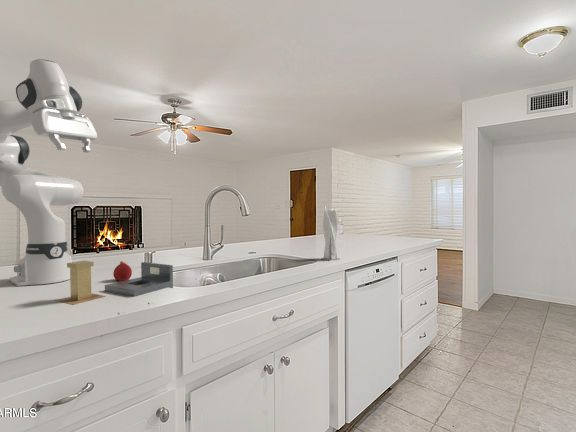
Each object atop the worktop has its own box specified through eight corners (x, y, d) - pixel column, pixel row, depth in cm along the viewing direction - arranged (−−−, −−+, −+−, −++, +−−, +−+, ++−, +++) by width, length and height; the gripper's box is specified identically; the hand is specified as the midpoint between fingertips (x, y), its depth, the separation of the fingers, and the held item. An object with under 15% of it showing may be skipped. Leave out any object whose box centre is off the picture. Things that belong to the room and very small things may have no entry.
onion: (127, 280, 115) (127, 259, 115) (134, 283, 111) (134, 260, 111) (110, 283, 111) (110, 261, 110) (117, 286, 107) (117, 263, 107)
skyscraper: (318, 258, 163) (318, 205, 163) (329, 257, 169) (328, 205, 168) (331, 260, 157) (331, 205, 157) (341, 259, 163) (341, 205, 162)
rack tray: (104, 294, 96) (104, 268, 96) (144, 284, 109) (144, 262, 108) (134, 300, 90) (133, 273, 89) (173, 289, 102) (172, 265, 102)
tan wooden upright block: (67, 299, 87) (67, 263, 87) (84, 295, 91) (84, 260, 91) (77, 301, 85) (76, 264, 85) (94, 297, 89) (93, 261, 89)
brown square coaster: (54, 304, 86) (54, 300, 86) (88, 296, 94) (88, 292, 94) (72, 309, 82) (72, 304, 82) (106, 300, 90) (106, 296, 90)
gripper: (81, 118, 112) (93, 155, 113) (21, 107, 92) (37, 152, 93) (94, 112, 111) (107, 150, 111) (37, 99, 91) (53, 145, 92)
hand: (75, 151), depth 102 cm, fingers open, 8 cm apart
